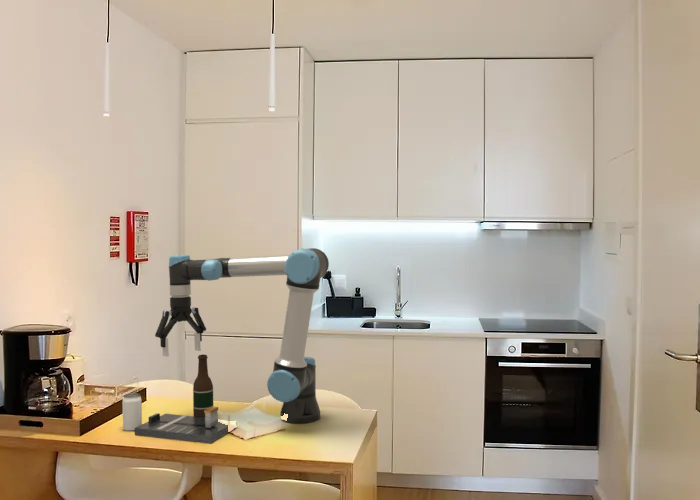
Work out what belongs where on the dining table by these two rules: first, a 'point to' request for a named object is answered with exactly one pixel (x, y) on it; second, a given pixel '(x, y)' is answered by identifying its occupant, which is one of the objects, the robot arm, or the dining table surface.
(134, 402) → the can
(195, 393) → the beer bottle
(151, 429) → the board
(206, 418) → the fader knob
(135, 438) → the dining table surface
